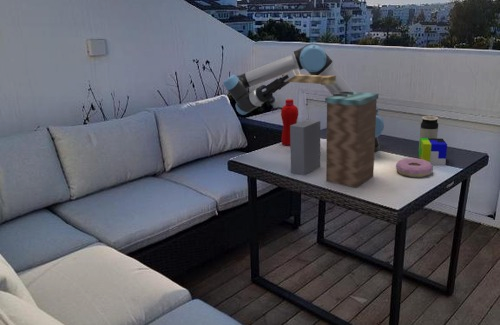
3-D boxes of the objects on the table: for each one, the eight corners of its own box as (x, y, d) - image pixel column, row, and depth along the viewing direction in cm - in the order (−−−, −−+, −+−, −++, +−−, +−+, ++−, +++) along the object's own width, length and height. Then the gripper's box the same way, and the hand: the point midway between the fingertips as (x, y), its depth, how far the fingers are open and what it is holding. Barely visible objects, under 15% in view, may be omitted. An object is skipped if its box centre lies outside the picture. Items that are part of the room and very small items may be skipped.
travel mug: (427, 156, 213) (430, 120, 207) (415, 152, 220) (417, 117, 214) (439, 153, 216) (442, 118, 210) (427, 149, 223) (430, 115, 217)
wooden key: (279, 82, 195) (279, 75, 194) (288, 79, 200) (288, 73, 199) (327, 85, 180) (327, 77, 179) (335, 82, 185) (335, 75, 184)
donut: (399, 165, 204) (400, 155, 202) (434, 169, 196) (435, 158, 195) (392, 176, 191) (392, 165, 189) (429, 181, 184) (430, 169, 182)
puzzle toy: (445, 165, 200) (447, 144, 197) (422, 165, 202) (423, 144, 199) (440, 158, 209) (442, 138, 206) (418, 158, 211) (420, 138, 208)
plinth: (291, 172, 201) (290, 125, 194) (307, 164, 211) (307, 119, 204) (303, 175, 197) (303, 127, 190) (320, 166, 207) (320, 120, 200)
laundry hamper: (324, 181, 188) (325, 95, 177) (343, 170, 201) (345, 88, 189) (356, 188, 179) (359, 98, 167) (374, 176, 191) (378, 91, 180)
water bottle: (299, 141, 250) (299, 97, 242) (297, 146, 240) (296, 101, 232) (283, 140, 252) (282, 97, 244) (280, 146, 242) (279, 101, 234)
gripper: (274, 99, 214) (310, 77, 197) (253, 105, 202) (289, 82, 186) (267, 85, 214) (302, 62, 198) (246, 90, 202) (282, 66, 186)
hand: (296, 72), depth 192 cm, fingers closed on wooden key, 3 cm apart
